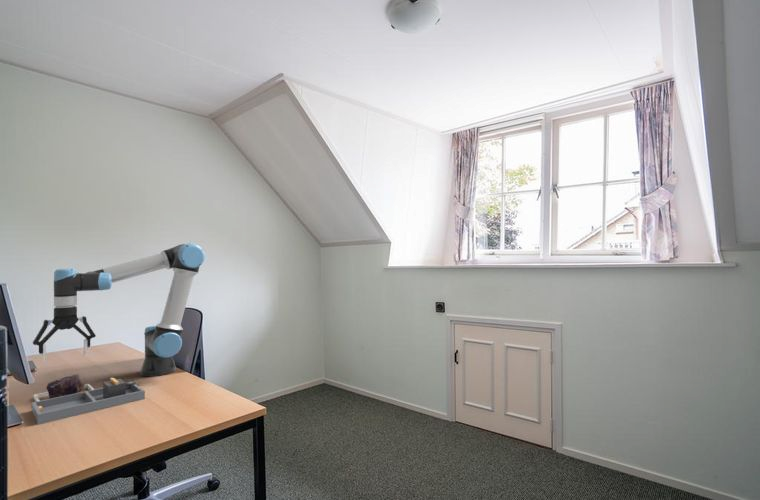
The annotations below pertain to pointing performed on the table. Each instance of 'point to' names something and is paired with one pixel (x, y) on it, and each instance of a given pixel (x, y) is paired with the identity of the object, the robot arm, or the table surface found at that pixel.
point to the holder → (87, 401)
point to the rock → (65, 386)
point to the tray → (37, 396)
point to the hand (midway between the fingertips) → (65, 358)
